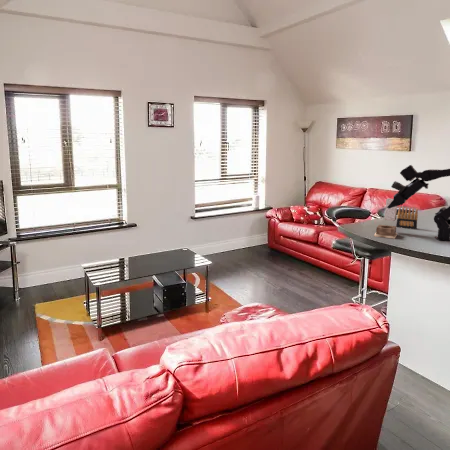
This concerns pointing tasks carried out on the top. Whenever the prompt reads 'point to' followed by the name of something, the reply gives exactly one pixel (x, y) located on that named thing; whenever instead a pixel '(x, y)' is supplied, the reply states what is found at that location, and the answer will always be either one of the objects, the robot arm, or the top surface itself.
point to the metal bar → (390, 211)
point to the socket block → (386, 231)
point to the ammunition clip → (407, 218)
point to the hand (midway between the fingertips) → (388, 207)
